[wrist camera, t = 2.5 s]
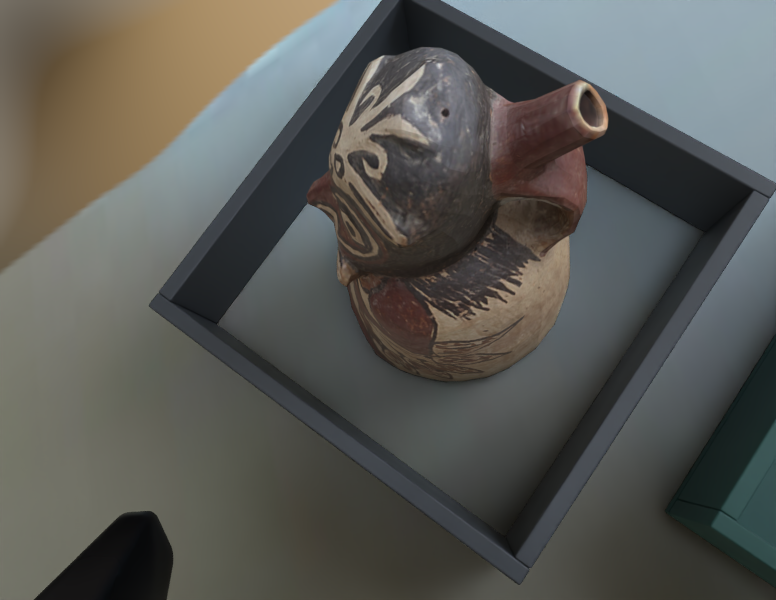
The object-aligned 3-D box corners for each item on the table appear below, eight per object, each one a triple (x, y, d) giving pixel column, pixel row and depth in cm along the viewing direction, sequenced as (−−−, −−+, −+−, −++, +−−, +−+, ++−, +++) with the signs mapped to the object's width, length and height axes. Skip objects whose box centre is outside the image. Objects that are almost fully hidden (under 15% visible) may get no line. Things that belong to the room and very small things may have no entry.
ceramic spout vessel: (371, 171, 24) (283, -94, 12) (571, 194, 23) (688, -70, 11) (334, 365, 22) (195, 279, 11) (546, 399, 21) (648, 347, 10)
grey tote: (509, 560, 20) (519, 586, 17) (197, 327, 23) (146, 305, 19) (726, 228, 22) (779, 184, 18) (408, 47, 25) (399, -24, 21)
